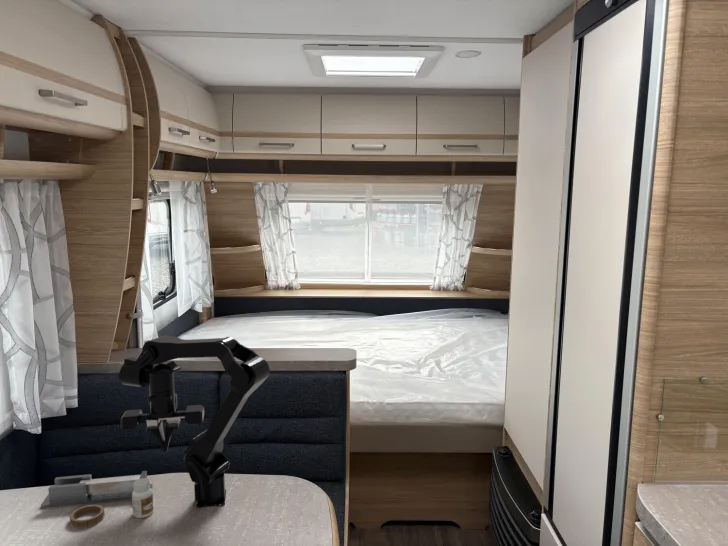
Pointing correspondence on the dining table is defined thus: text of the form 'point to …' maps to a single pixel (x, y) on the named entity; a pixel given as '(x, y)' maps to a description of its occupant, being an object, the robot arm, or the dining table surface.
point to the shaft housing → (79, 493)
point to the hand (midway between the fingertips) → (165, 450)
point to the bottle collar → (87, 522)
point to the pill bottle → (142, 498)
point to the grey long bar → (112, 483)
